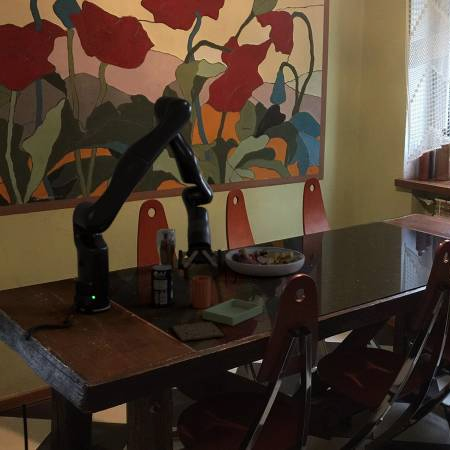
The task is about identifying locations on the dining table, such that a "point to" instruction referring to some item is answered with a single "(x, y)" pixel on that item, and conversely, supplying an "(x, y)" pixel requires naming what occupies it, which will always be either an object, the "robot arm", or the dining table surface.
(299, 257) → the bowl
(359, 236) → the dining table surface
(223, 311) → the tray
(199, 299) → the cup
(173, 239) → the beer glass
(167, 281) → the beverage can
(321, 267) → the dining table surface
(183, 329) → the speckled square tile
